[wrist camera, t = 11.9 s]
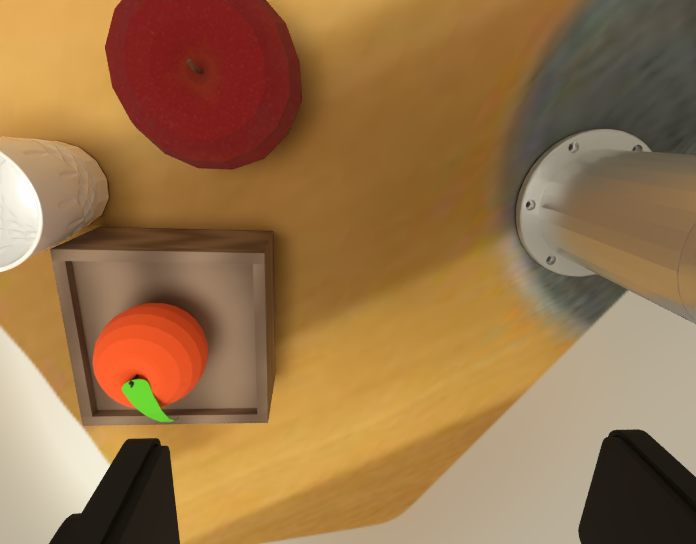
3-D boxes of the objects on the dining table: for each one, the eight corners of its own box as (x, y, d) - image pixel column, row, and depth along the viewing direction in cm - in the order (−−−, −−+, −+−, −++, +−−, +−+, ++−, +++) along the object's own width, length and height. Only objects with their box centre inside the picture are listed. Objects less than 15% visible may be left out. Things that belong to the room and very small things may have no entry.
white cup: (122, 236, 35) (51, 276, 25) (19, 232, 34) (-93, 271, 25) (112, 136, 32) (29, 139, 23) (1, 129, 32) (-131, 128, 22)
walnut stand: (273, 231, 36) (264, 253, 29) (275, 375, 40) (267, 422, 34) (99, 227, 34) (50, 249, 28) (120, 376, 39) (82, 425, 32)
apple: (124, 80, 31) (22, 53, 20) (223, -32, 30) (170, -129, 19) (237, 190, 34) (201, 218, 23) (332, 94, 33) (342, 75, 22)
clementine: (239, 365, 33) (219, 426, 26) (156, 395, 33) (115, 463, 26) (192, 274, 30) (156, 314, 23) (103, 307, 30) (42, 356, 24)
